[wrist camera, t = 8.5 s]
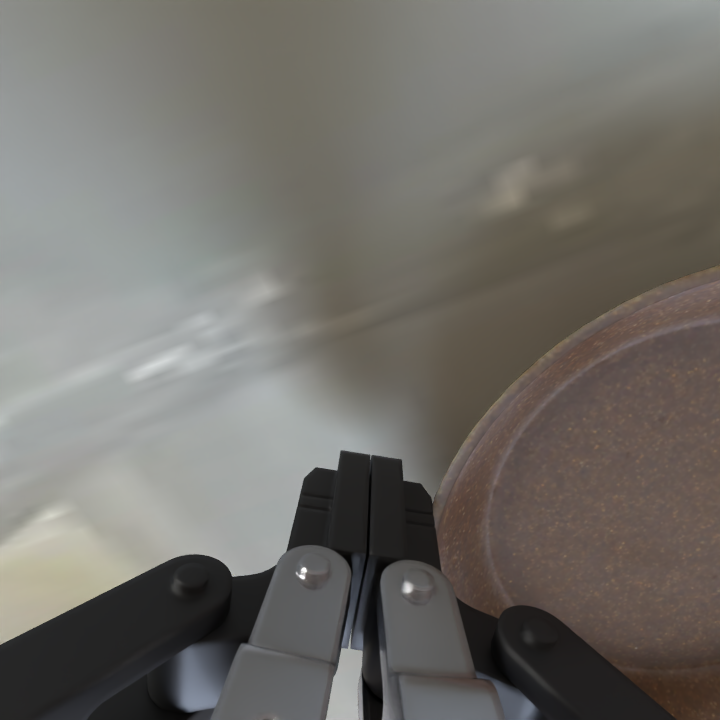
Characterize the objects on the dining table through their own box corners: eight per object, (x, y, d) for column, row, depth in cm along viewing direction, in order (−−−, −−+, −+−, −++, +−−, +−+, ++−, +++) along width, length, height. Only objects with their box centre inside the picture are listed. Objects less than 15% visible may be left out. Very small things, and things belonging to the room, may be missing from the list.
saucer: (1135, 425, 14) (1307, 489, 11) (708, 763, 18) (758, 860, 16) (660, 93, 11) (737, 78, 9) (319, 573, 16) (307, 651, 14)
